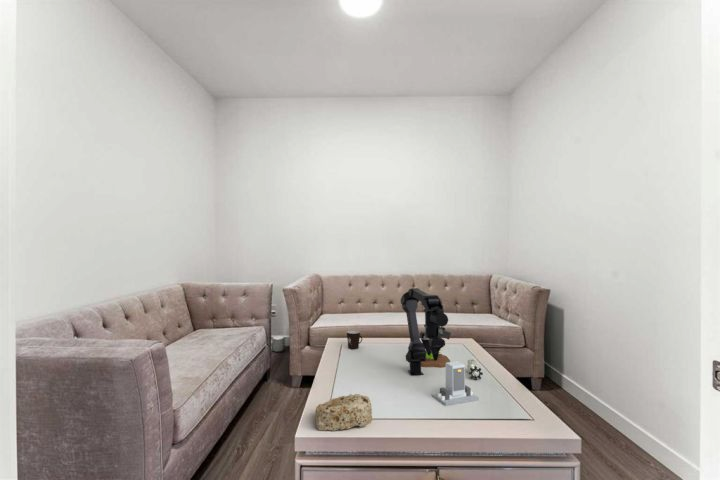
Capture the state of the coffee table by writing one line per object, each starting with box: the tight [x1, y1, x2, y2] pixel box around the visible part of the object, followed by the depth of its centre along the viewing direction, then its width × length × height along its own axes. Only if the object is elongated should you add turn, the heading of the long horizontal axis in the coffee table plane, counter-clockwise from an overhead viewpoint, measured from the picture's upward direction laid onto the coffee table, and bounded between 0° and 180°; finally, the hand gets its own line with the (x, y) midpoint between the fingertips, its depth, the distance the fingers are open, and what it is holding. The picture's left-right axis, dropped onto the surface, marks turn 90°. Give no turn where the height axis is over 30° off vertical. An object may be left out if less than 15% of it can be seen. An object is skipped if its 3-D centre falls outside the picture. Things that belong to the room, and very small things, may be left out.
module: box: [445, 360, 466, 396], centre depth 152 cm, size 6×6×12 cm
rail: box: [431, 384, 480, 407], centre depth 152 cm, size 16×10×4 cm, turn 111°
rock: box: [315, 393, 373, 432], centre depth 132 cm, size 21×14×10 cm
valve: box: [466, 358, 484, 381], centre depth 179 cm, size 7×7×12 cm
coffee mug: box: [346, 330, 363, 350], centre depth 228 cm, size 12×9×10 cm
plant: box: [421, 348, 451, 369], centre depth 202 cm, size 20×20×11 cm
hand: (432, 357), depth 165 cm, fingers open, 9 cm apart
